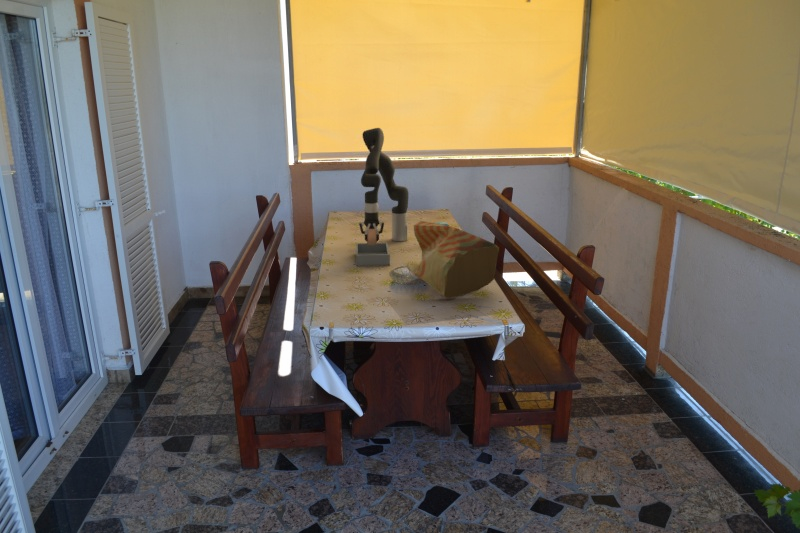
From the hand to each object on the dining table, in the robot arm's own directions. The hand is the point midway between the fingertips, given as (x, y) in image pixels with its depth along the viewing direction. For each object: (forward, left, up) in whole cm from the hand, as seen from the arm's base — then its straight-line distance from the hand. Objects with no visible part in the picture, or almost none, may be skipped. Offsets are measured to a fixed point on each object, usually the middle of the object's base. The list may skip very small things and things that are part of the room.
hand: (371, 240), depth 352 cm
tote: (0, 0, -11) cm, 11 cm away
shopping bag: (-36, +49, -11) cm, 62 cm away
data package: (-41, -31, -11) cm, 53 cm away
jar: (0, 0, -2) cm, 2 cm away
